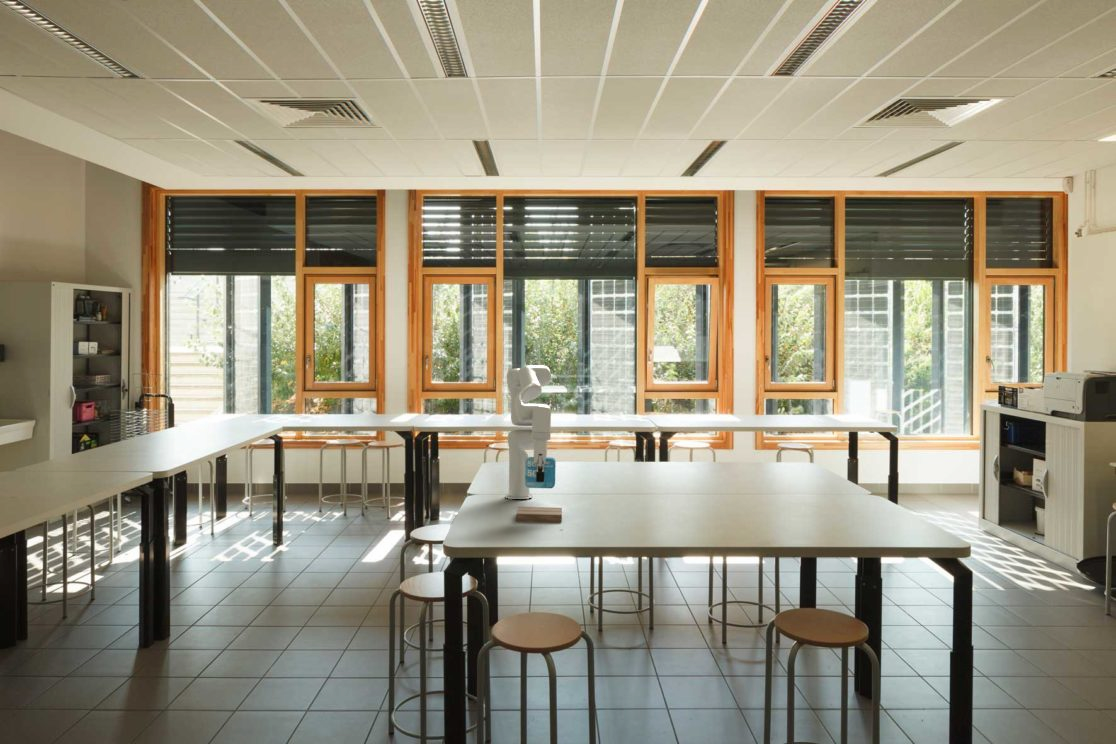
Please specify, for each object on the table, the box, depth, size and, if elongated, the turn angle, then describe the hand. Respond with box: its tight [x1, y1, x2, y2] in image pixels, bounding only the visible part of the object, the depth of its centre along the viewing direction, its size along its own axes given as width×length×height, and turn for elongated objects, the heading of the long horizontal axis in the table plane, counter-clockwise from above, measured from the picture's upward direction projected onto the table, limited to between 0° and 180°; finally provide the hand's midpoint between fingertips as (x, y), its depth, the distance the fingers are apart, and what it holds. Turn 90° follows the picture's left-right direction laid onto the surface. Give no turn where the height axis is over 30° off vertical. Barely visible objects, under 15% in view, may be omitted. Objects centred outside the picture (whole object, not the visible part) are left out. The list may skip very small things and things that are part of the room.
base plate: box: [515, 506, 563, 523], centre depth 309 cm, size 14×18×3 cm
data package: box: [525, 456, 557, 489], centre depth 308 cm, size 12×4×12 cm, turn 88°
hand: (540, 480), depth 308 cm, fingers closed on data package, 4 cm apart
